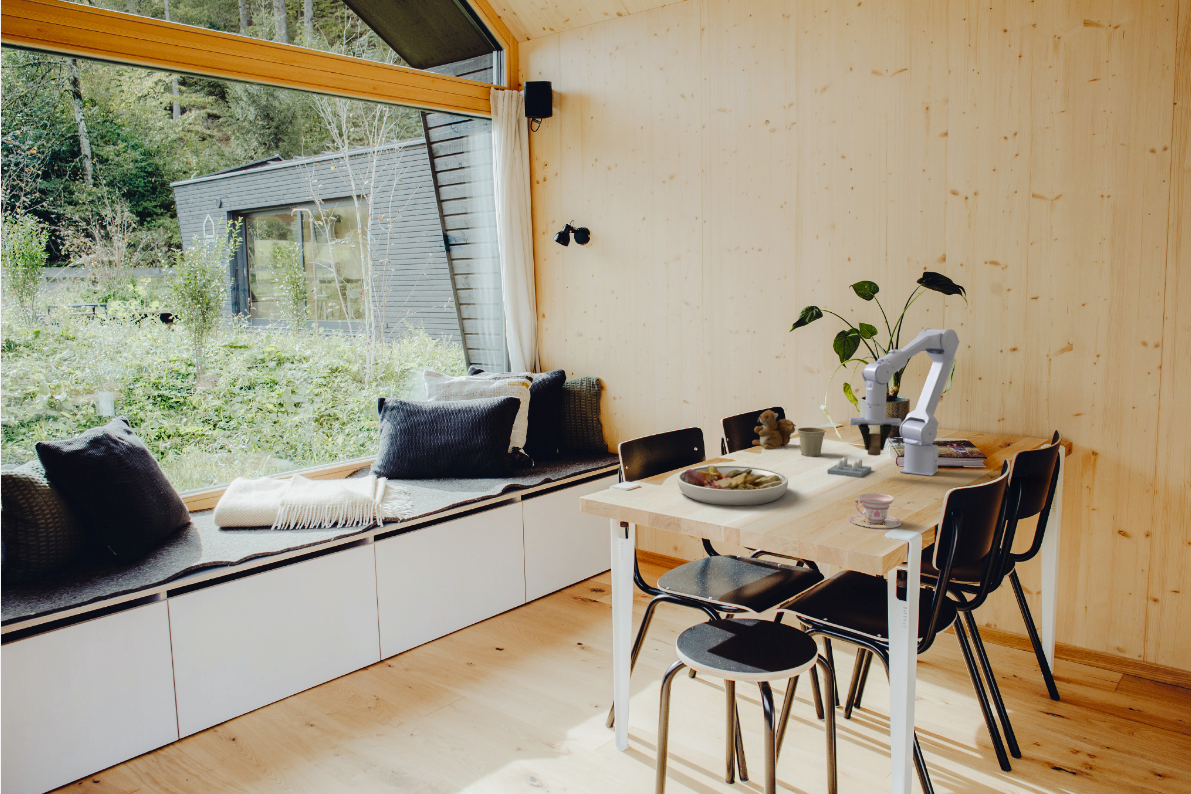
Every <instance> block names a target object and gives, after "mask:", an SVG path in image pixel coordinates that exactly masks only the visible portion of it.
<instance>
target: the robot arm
mask: <svg viewBox="0 0 1191 794" xmlns="http://www.w3.org/2000/svg"><path fill="white" fill-rule="evenodd" d="M959 343H960V339H959V337H958V334H957V332H956V331H955V330H953V329H949V328H948V329H942V328H930V327H927V328H924V329H923V330H921V331H920V332H918V335H916V337H915V338H914V339H913V340H911V341H910V342H909V343H908V344H906V345H905V346H904V347H902V348H901V349H890V350H889V351H888V352H887V354H886V355H884V356H882V357H881V358H880V357H879V358H878V359H877V360H876V361H875V362H869V363H867V364H866V365H865V366H864V367H863V370H862V372H861V376H862V377H861V378H862V380H863V381H864V387H865V405H864V407H865V408H864V417H849V419H848V425H849V426H853V427H854V426H857V427H858V429H859V431H860V434H861V436H862V439H863V443H864V450H866V451H868V450H869V434H870V430H871V428H870V427H869V426H879V434H881V451H884V449H885V445H886V441H887V439H888V437H889V436H890V434H891V432H892V431H893V426H897V427H899V436H900V437H901V438H902V439H903V440H902V441H903V442H904V458H903V468H902V469H900V470H899V472H900V473H906V474H914V475H924V476H930V477H933V475H935V474H936V473H937V472H938V471H939V469H938V468H939V467H938V466H939V446H938V444H933V443H934V441H935V439H936V438H937V435H938V426H939V421H938V420H937V418H936V417H935V415H934V414H935V412H936V410H937V407H938V404H939V402H940V398H941V396H942V393H943V392H944V388H945V386H946V383H947V380H948V378H949V375H950V372H951V371H952V370H951V369H952V367H953V365H954V362H955V354H956V353H957V349H958V347H959V345H960V344H959ZM922 351H925V354H927V355H928V356H929V358H931V360H932V364H931V367H930V370H929V372H928V374H927V378H926V380H925V383H924V386H923V388H922V391H921V393H920V397H919V398H918V401H917V404H916V407H915V409H914V410H912V411H910V412H908V413H907V414H906V416H905V419H904V420H902V419H901V418H900V417H899V418H897V417H896V418H894V417H893V418H892V417H886V413H887V412H886V410H887V387H888V386H887V384H888V383H889V382H890V381H891V379H892V377H893V375H894V374H895V373H897V372H898V371H900V370H901V369H902V368H905V366H906V365H908V360H909V359H911V358H912V357H914V356H916V355H917V354H919V353H922Z"/></svg>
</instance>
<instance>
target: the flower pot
mask: <svg viewBox="0 0 1191 794" xmlns="http://www.w3.org/2000/svg"><path fill="white" fill-rule="evenodd" d="M796 431H797V432H798V436H799V443H800V445H799V446H800V452H801V453H800V454H801V455H803V456H804V457H811V456H812V457H819V456H821V452H822V446H823V442H824V441H823V440H824V437H825V433H826V431H827V430H826V429H825V428H820V427H811V426H810V427H799V428H797V429H796Z"/></svg>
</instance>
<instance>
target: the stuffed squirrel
mask: <svg viewBox="0 0 1191 794" xmlns="http://www.w3.org/2000/svg"><path fill="white" fill-rule="evenodd" d="M778 416H779V413H777V412H776V413H775V411H772V410H771V409H768V410H765V411H764V412H762V413H761V414H760V415H759V417H758V419H757V422H760V423H761V424H762V425H760V426H755V427H754V429H753V431H754V433H756V434H758V435H759V439H753V440H752V442H751V443H752V445H753V446H761V447H763V449H764V450H775V449H778V448H779V446H780V447H782V446H783V447H786V446H787V445H788V444H789V443H790V440H791V438H792V437H791V435H792V434H794V433H795V431H796V428H795V427H797V425H796V424H795V423H794V422H793V421H792V420H791V419H786V418H783V419H782V418H781V419H779V420H778V421H777V418H778Z"/></svg>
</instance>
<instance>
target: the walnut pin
mask: <svg viewBox="0 0 1191 794" xmlns="http://www.w3.org/2000/svg"><path fill="white" fill-rule="evenodd" d="M881 451H882V450H881V434H880V433H874V432H872V433H870V432H869V450H867V455H868V456H873V457H874V456H875V457H876V456H881Z"/></svg>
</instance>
